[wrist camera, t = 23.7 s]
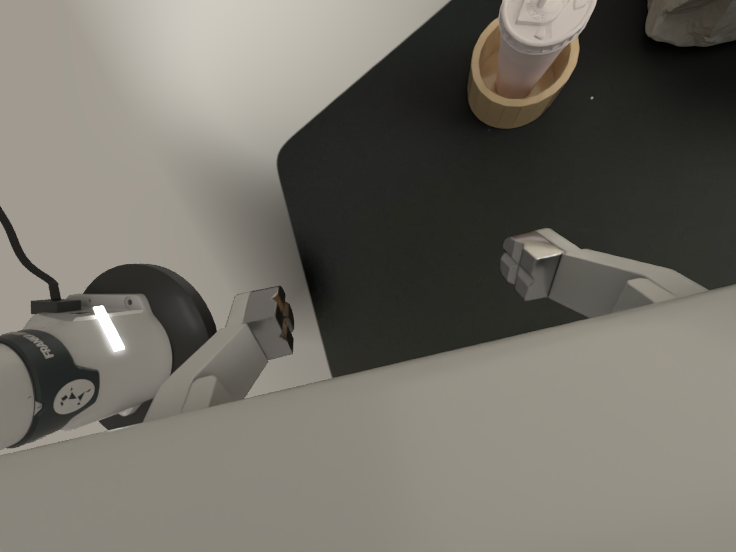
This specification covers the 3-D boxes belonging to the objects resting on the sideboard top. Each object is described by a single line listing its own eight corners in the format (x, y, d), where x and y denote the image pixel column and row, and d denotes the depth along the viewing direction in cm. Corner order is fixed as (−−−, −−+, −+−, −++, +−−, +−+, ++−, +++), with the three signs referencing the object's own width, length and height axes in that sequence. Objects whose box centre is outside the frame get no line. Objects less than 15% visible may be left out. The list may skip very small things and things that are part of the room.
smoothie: (471, 76, 31) (495, -71, 18) (529, 38, 30) (605, -154, 16) (500, 126, 31) (548, 15, 17) (560, 90, 29) (666, -63, 16)
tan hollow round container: (460, 126, 32) (463, 104, 28) (475, 42, 32) (481, 6, 27) (548, 131, 30) (567, 108, 26) (567, 41, 30) (589, 2, 25)
